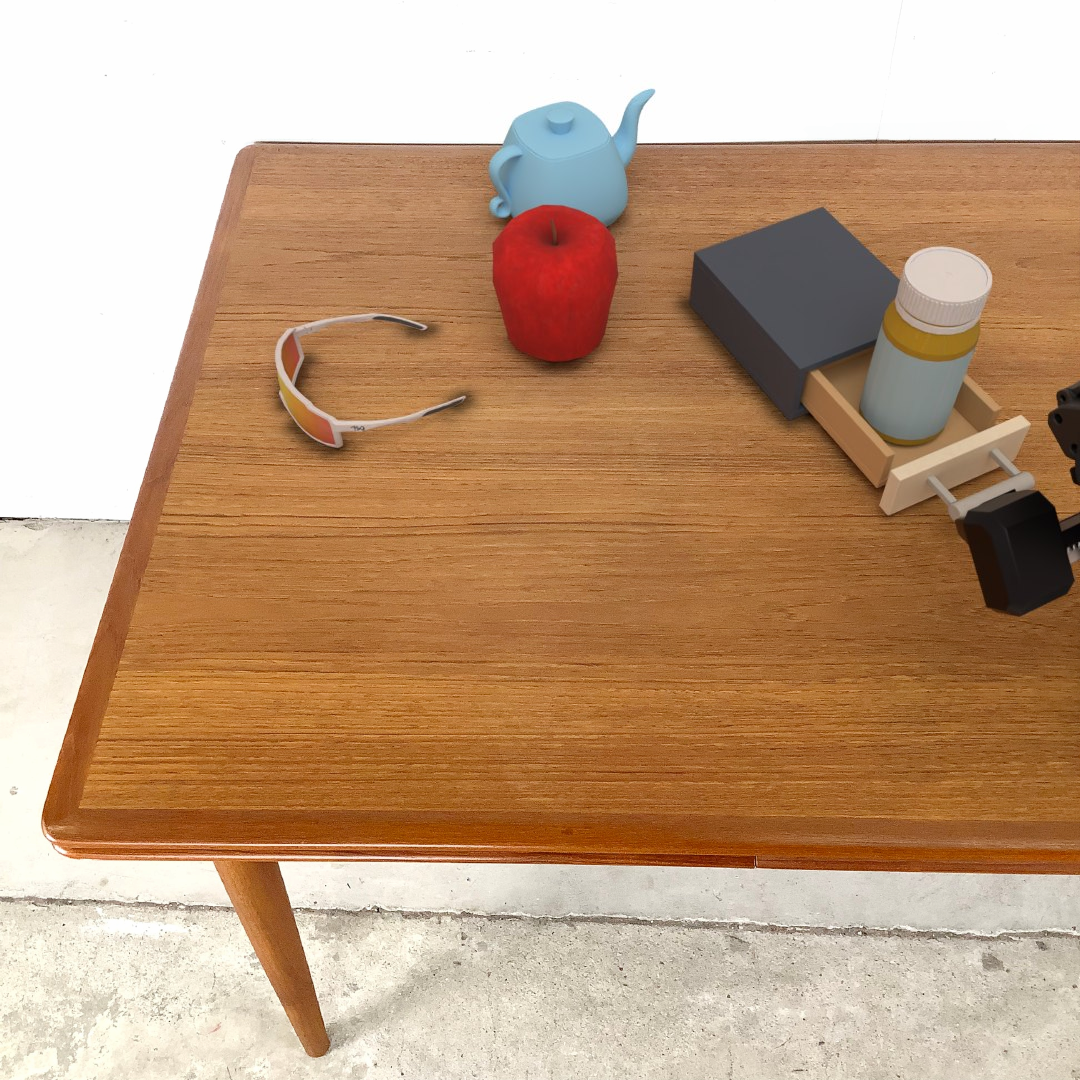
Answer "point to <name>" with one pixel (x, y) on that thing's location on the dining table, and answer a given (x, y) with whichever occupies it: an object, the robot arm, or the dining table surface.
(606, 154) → the teapot
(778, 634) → the dining table surface
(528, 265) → the apple
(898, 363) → the bottle
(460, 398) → the sunglasses
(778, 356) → the cabinet
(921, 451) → the drawer
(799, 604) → the dining table surface
